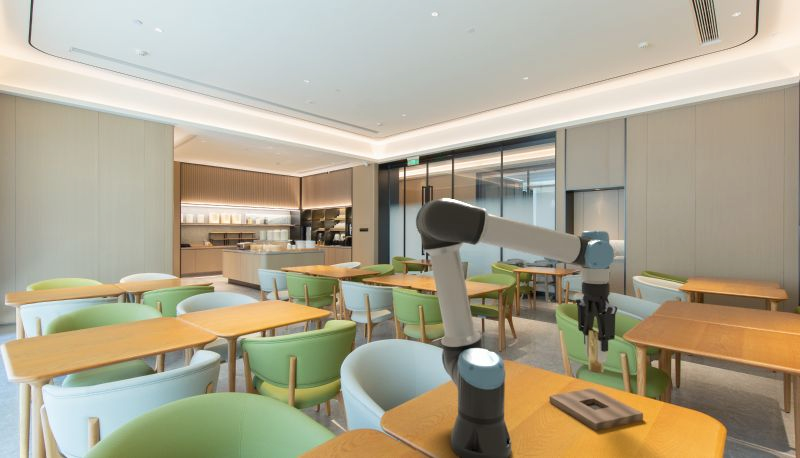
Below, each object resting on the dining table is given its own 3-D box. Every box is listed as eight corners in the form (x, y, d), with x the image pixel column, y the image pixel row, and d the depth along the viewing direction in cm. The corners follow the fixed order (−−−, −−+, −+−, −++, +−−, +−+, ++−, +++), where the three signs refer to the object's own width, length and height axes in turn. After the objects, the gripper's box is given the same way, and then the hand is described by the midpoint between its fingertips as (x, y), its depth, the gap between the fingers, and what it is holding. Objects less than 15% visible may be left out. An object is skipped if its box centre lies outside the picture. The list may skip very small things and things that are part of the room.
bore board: (595, 430, 105) (595, 423, 105) (549, 401, 122) (549, 395, 122) (642, 419, 111) (643, 413, 111) (592, 393, 128) (592, 388, 128)
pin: (596, 373, 113) (595, 333, 112) (585, 368, 116) (585, 329, 116) (606, 371, 114) (606, 331, 114) (595, 366, 118) (595, 328, 118)
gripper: (629, 285, 108) (630, 367, 108) (583, 277, 124) (584, 348, 124) (609, 286, 106) (609, 370, 106) (564, 278, 122) (565, 351, 122)
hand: (595, 358), depth 115 cm, fingers closed on pin, 4 cm apart
